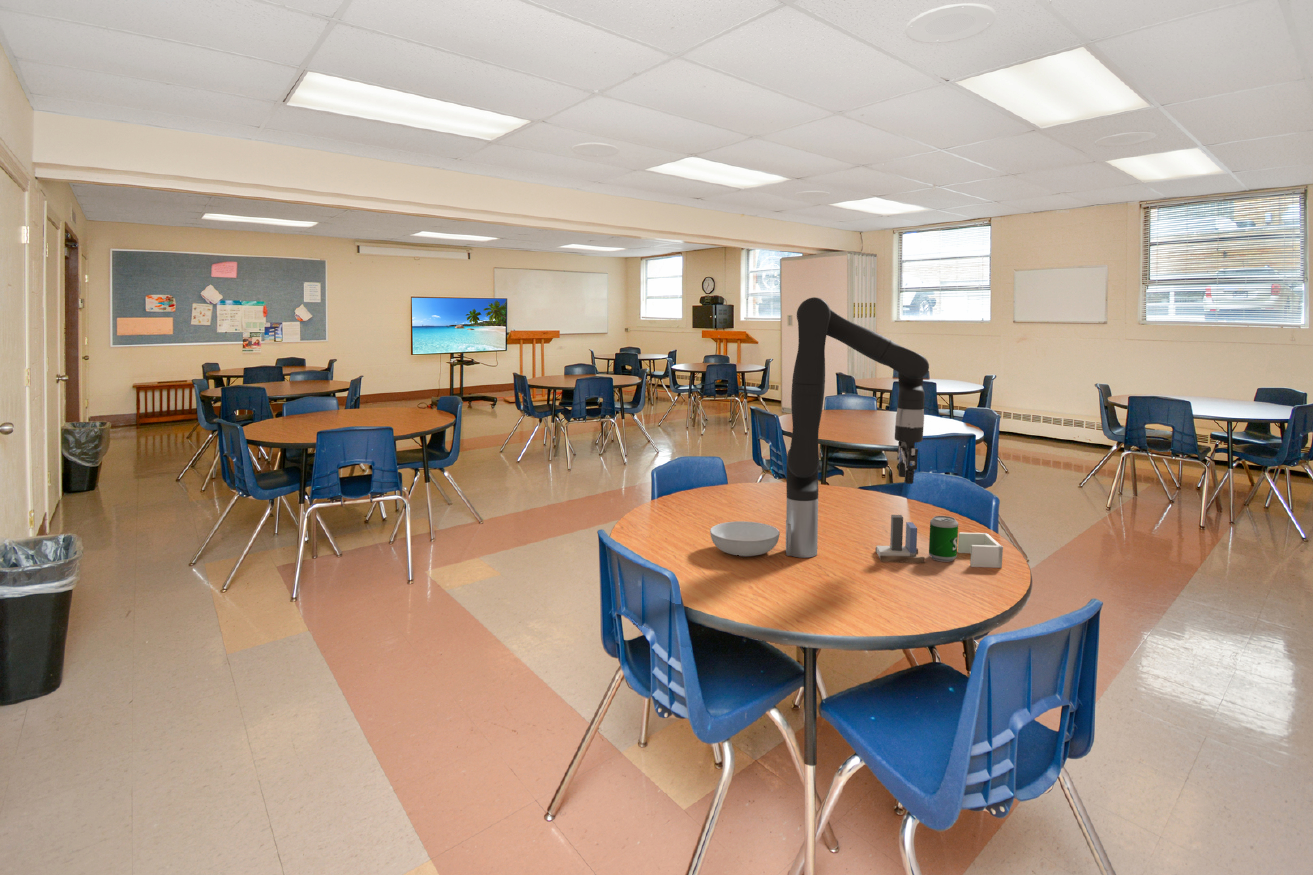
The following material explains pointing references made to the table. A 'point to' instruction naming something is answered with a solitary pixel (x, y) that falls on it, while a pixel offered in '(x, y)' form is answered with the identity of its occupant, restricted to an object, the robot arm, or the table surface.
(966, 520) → the table surface
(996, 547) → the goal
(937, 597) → the table surface
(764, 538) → the serving bowl
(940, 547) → the soda can
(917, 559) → the track
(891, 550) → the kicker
